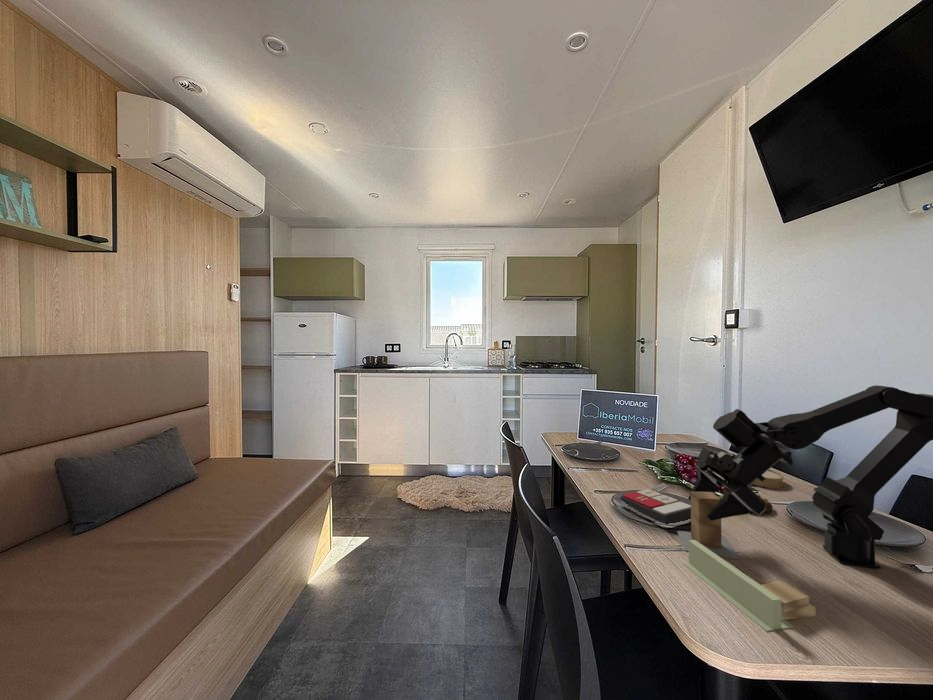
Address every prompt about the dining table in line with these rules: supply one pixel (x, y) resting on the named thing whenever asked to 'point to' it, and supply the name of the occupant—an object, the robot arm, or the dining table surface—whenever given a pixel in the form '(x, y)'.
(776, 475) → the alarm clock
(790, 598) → the offcut upper
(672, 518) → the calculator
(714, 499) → the brown wooden block
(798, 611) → the offcut lower
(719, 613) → the dining table surface
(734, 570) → the green flanged rail
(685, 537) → the felt pad
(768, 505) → the bread roll
